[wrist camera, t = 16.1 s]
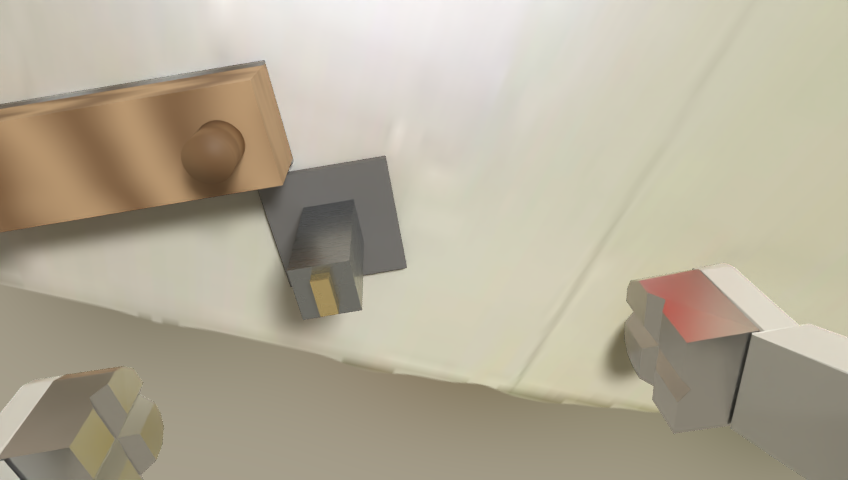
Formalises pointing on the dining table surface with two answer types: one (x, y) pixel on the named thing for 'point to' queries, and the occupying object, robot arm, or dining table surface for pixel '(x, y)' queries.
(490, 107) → the dining table surface
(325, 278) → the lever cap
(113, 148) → the plane body
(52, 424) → the robot arm
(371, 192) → the pad
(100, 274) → the dining table surface
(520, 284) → the dining table surface
